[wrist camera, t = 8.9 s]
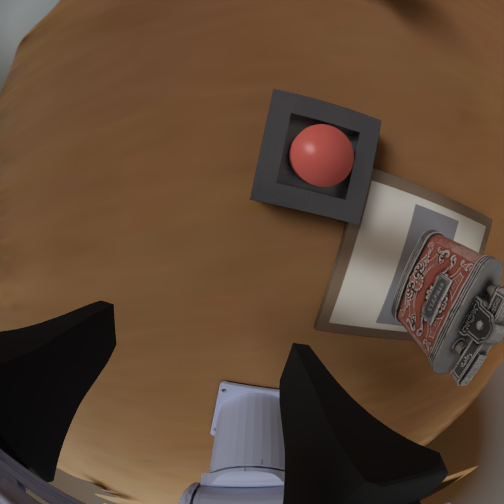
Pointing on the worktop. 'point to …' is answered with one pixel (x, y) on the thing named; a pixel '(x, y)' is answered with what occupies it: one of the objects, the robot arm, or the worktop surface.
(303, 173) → the button
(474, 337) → the lighter
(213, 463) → the robot arm
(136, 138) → the worktop surface
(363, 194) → the button housing
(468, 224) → the board
